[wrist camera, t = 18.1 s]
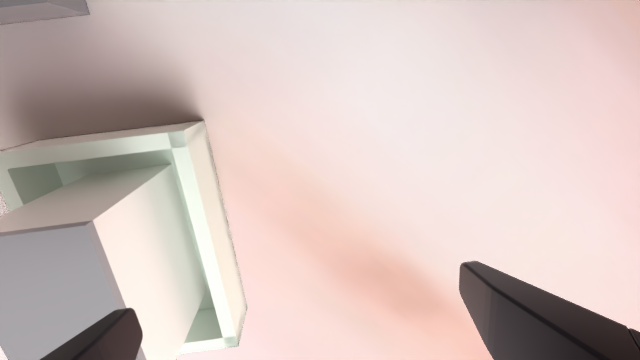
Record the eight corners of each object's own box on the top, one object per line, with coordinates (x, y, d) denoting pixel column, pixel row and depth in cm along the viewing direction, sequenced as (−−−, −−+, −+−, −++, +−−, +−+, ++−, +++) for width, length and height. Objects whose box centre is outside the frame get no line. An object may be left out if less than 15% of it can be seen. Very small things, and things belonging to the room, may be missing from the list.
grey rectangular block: (171, 164, 19) (85, 225, 11) (206, 289, 22) (157, 405, 14) (86, 174, 19) (-58, 244, 11) (133, 299, 22) (43, 421, 14)
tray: (204, 120, 19) (183, 130, 15) (247, 307, 23) (238, 346, 20) (39, 140, 18) (-18, 154, 15) (114, 325, 23) (83, 367, 20)
